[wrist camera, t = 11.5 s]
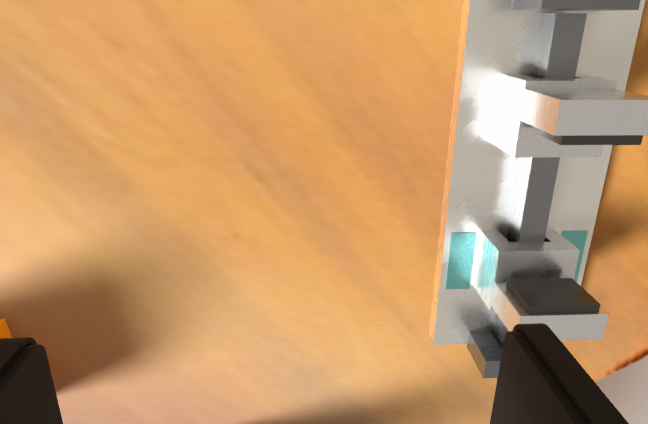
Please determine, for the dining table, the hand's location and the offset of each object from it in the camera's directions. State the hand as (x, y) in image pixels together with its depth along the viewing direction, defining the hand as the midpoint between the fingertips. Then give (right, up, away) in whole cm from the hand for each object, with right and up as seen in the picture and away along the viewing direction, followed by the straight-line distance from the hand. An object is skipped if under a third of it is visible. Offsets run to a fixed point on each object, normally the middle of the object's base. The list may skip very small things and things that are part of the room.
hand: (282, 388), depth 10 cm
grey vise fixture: (+16, +6, +29) cm, 34 cm away
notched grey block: (+16, 0, +30) cm, 34 cm away
